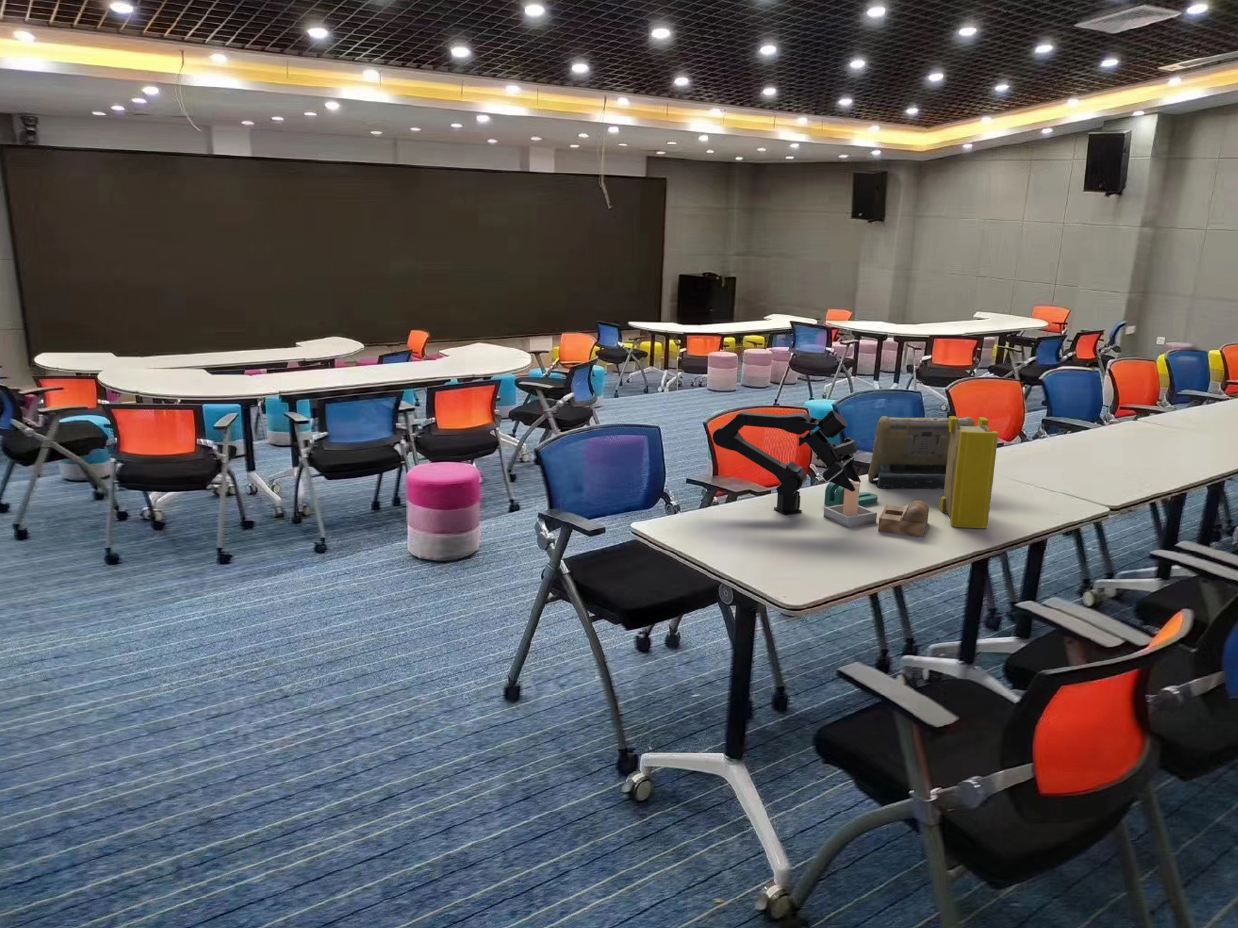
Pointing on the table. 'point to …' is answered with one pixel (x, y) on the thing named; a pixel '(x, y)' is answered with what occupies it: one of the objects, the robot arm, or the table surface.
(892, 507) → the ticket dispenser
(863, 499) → the bracket
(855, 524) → the tray
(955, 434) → the decorative book
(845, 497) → the peach block
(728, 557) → the table surface
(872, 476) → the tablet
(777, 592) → the table surface
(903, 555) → the table surface
